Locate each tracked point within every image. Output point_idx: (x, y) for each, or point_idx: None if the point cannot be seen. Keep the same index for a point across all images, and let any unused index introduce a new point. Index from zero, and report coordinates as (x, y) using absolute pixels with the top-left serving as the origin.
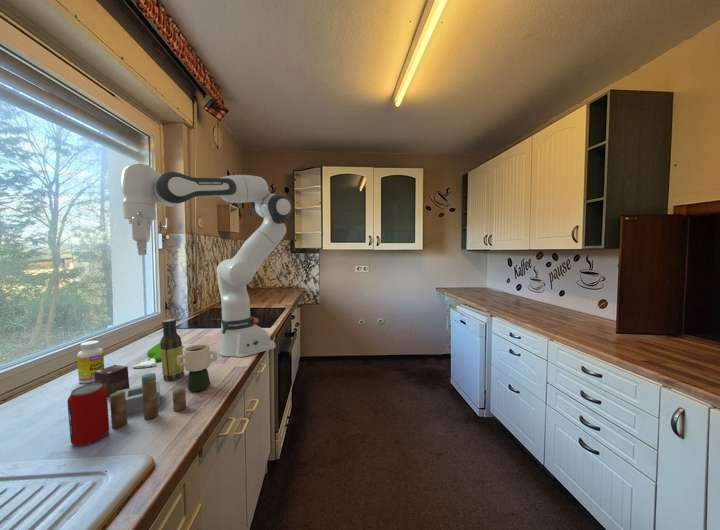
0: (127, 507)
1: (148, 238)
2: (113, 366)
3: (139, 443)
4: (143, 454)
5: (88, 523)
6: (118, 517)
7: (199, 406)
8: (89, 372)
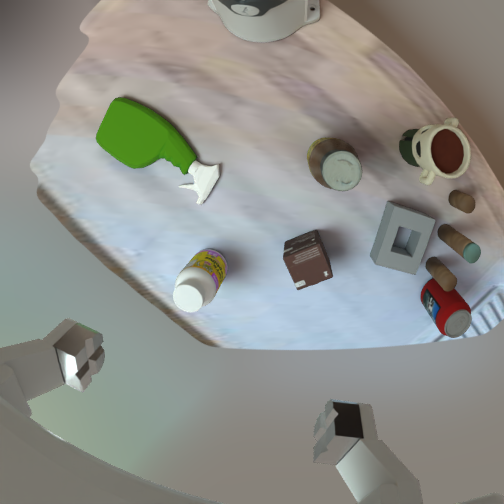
0: None
1: (61, 477)
2: (293, 262)
3: (483, 257)
4: (500, 259)
5: None
6: None
7: (468, 177)
8: (223, 278)
